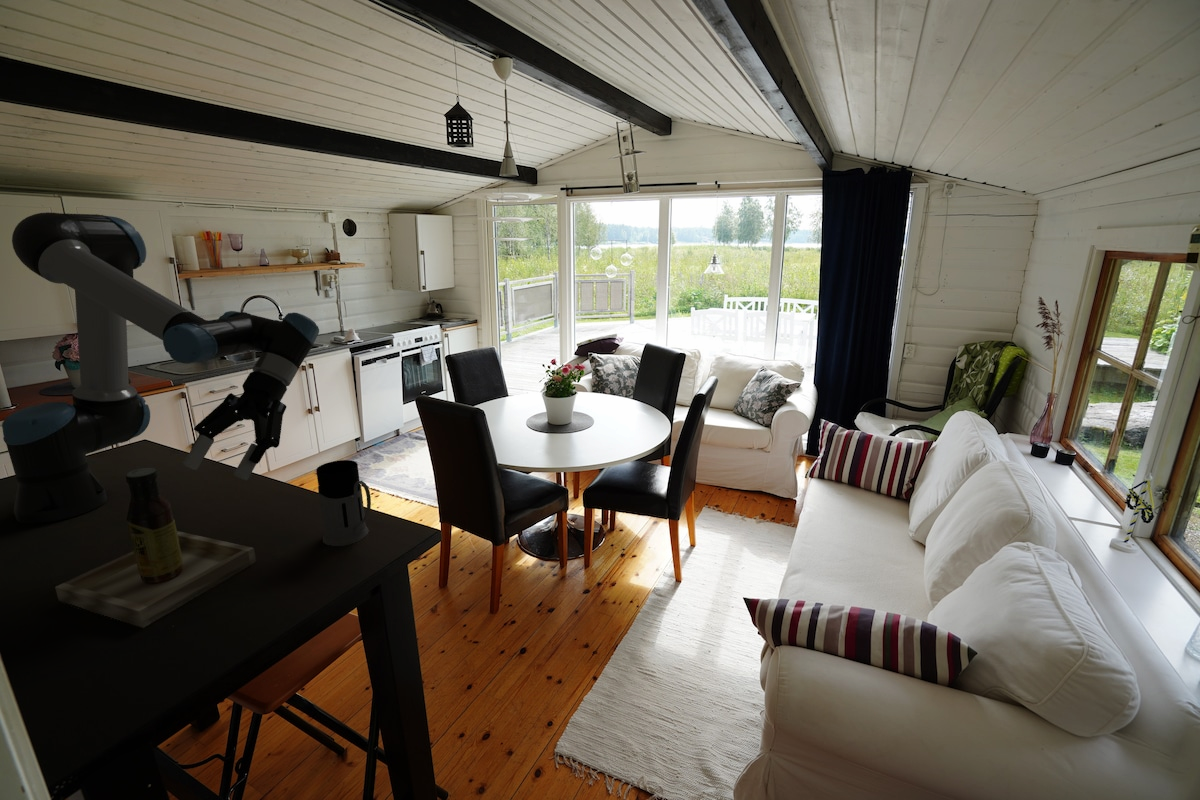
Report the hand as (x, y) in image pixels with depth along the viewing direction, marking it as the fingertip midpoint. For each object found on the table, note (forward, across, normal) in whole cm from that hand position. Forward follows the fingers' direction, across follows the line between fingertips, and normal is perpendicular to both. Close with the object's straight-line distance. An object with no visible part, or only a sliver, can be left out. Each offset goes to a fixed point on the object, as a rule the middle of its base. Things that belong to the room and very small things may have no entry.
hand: (214, 472), depth 109 cm
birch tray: (+20, -2, -1) cm, 20 cm away
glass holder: (+4, -23, -17) cm, 29 cm away
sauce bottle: (+20, -2, 0) cm, 20 cm away
